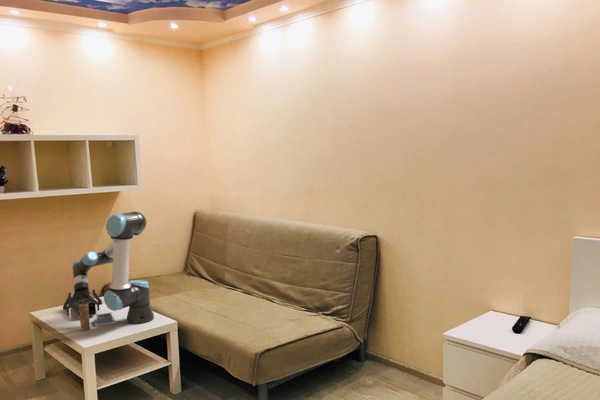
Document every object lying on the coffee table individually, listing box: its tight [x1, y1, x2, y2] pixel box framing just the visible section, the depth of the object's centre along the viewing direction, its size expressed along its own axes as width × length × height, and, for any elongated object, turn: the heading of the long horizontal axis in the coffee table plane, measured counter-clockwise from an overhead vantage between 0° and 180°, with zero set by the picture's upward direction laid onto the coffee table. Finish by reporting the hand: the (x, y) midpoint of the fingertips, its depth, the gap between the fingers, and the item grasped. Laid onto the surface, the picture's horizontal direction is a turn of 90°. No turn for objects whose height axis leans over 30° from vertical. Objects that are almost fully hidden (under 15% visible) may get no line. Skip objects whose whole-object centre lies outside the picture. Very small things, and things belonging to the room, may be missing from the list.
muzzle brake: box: [67, 296, 96, 319], centre depth 304 cm, size 10×28×10 cm, turn 43°
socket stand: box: [93, 312, 116, 327], centre depth 285 cm, size 11×11×4 cm
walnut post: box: [79, 303, 91, 333], centre depth 273 cm, size 4×4×14 cm
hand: (83, 317), depth 273 cm, fingers open, 13 cm apart
